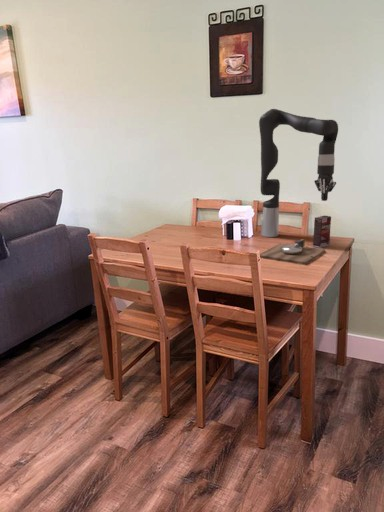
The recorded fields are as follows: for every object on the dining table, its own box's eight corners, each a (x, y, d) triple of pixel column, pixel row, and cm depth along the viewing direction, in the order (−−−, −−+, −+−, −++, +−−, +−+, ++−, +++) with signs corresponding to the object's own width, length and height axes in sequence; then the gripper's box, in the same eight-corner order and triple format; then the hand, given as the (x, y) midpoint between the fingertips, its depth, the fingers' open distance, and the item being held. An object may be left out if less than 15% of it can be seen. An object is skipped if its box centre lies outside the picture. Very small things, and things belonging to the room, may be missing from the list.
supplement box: (320, 248, 223) (321, 218, 219) (312, 246, 227) (313, 217, 222) (330, 245, 228) (331, 216, 224) (322, 243, 232) (323, 215, 227)
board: (258, 257, 213) (258, 253, 212) (280, 245, 232) (280, 242, 231) (306, 264, 198) (306, 261, 198) (325, 251, 217) (325, 248, 217)
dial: (295, 255, 208) (296, 247, 207) (278, 251, 214) (278, 244, 213) (311, 248, 218) (311, 240, 217) (294, 245, 225) (294, 238, 224)
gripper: (342, 164, 196) (340, 201, 201) (322, 162, 208) (320, 198, 213) (329, 165, 193) (327, 203, 198) (310, 163, 205) (308, 199, 210)
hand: (324, 200), depth 205 cm, fingers closed
